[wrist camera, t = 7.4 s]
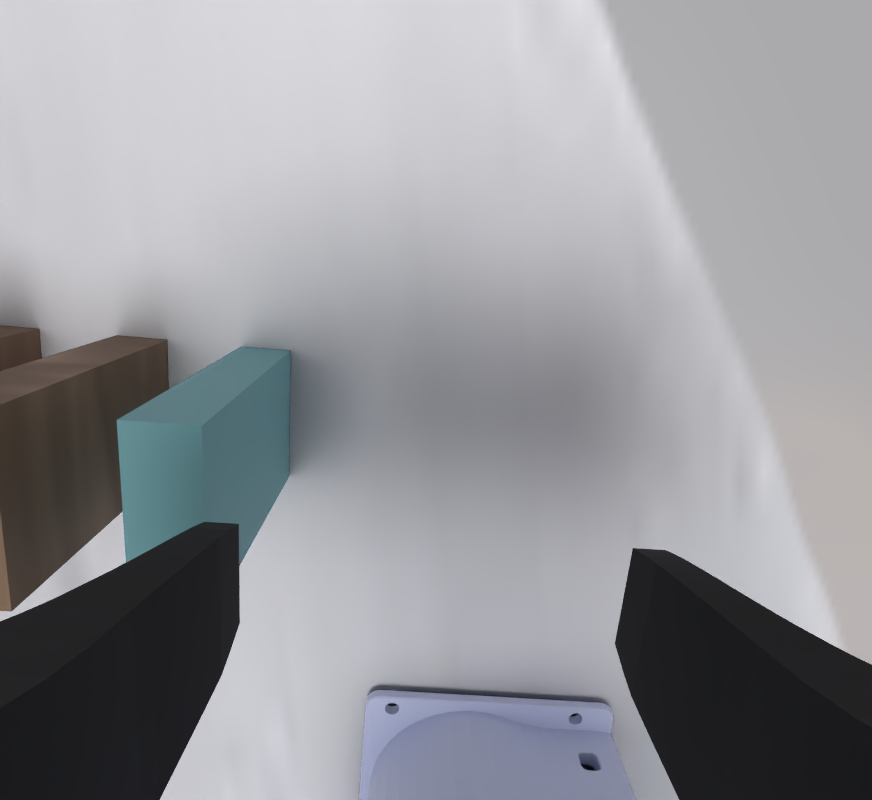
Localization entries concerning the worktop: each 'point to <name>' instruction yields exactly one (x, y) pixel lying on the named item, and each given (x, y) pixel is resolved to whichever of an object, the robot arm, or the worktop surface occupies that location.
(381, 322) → the worktop surface
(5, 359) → the domino
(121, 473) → the teal domino
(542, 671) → the worktop surface
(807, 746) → the robot arm
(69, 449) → the domino
